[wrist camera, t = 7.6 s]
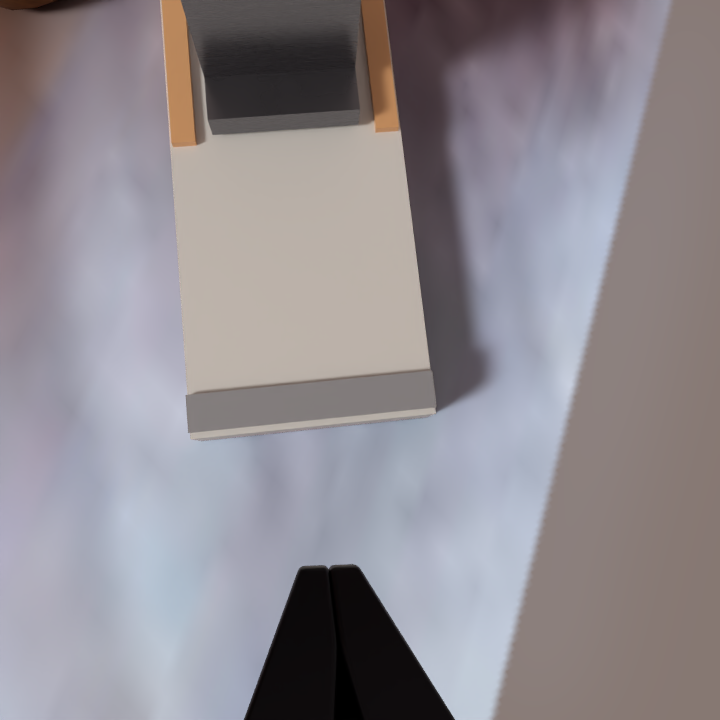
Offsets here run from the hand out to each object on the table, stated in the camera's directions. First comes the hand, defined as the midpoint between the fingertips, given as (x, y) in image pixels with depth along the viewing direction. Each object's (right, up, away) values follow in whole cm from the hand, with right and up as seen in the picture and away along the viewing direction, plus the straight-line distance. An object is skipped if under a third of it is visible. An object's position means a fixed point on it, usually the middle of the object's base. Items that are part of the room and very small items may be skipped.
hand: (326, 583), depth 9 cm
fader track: (-2, +10, +15) cm, 18 cm away
